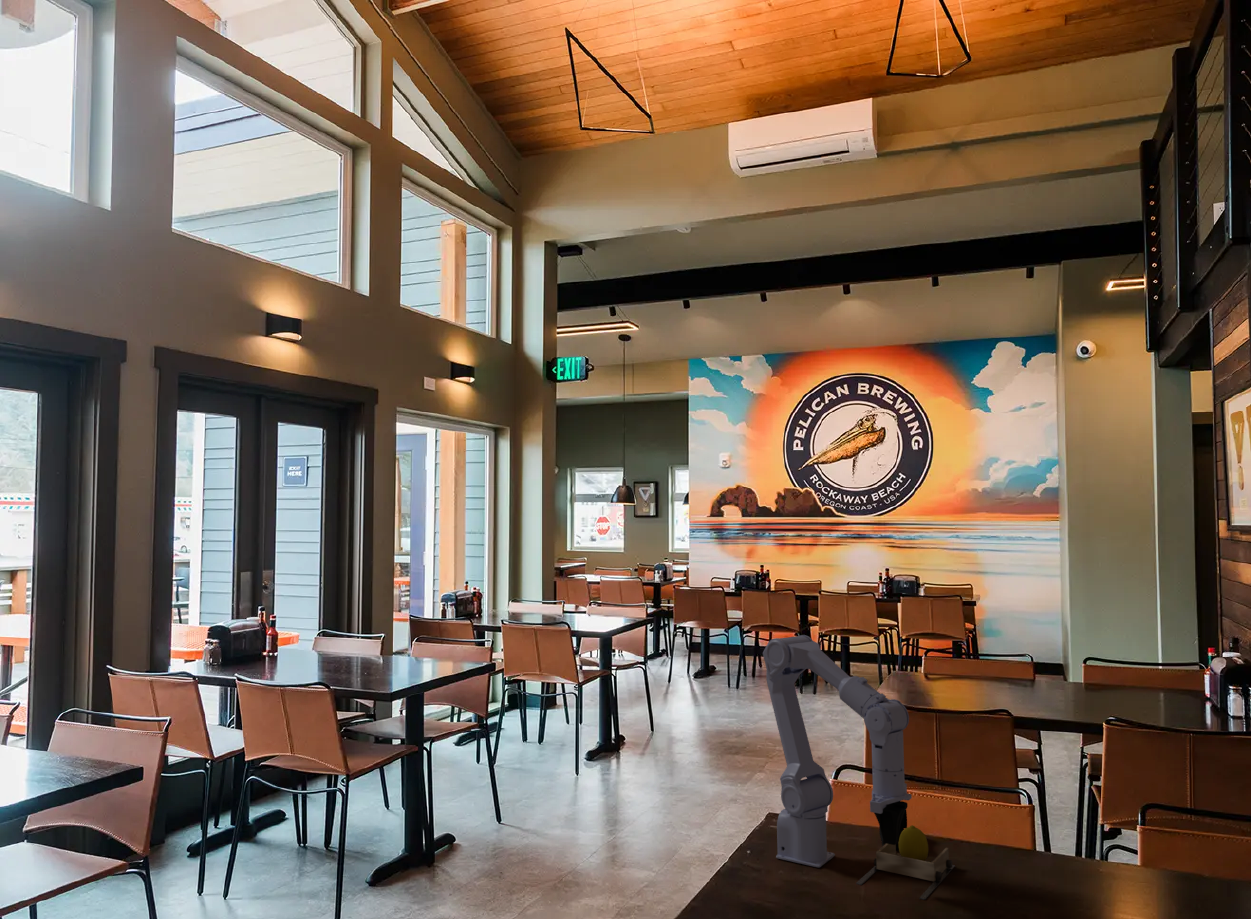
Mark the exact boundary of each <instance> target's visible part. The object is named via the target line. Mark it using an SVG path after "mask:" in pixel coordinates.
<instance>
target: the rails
mask: <svg viewBox="0 0 1251 919" xmlns="http://www.w3.org/2000/svg"><path fill="white" fill-rule="evenodd" d="M955 867H956V866H955V864H952V868H948V867H947V868H946V869H945V870H944V871H943V872H942V878H941V880H938V879H936V880H935V881H932V883H931V884H930V885H929V886H928V887H927V889H926V890H925V891H924V892H923V893H922V894H921V895H920V897H919V900H924V901H925V900H927V899H928V898H929V897H930V896H931V894H932V893H933V892H934V891H935V890H936V889H937V887H938V886H939V885H940V884H941V883H942V882H943V881H944V880H945V878H947V876H948V875H949V874H950V872H951V871H953V869H954V868H955ZM878 870H879V869H877V866H875V865H874V866H873V867H872V868H871V869H870V870H868V871H867V873H866V874H864V875H863V876H862V877H861V878H860V879H859V880H858V881H857V882H856V883H855V884H856V885H859V886H862V885H863V884H865V882H866V881H868V880H869V879H870V878H871V877H872V876H873V875H875V873H876V872H878Z"/></svg>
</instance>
